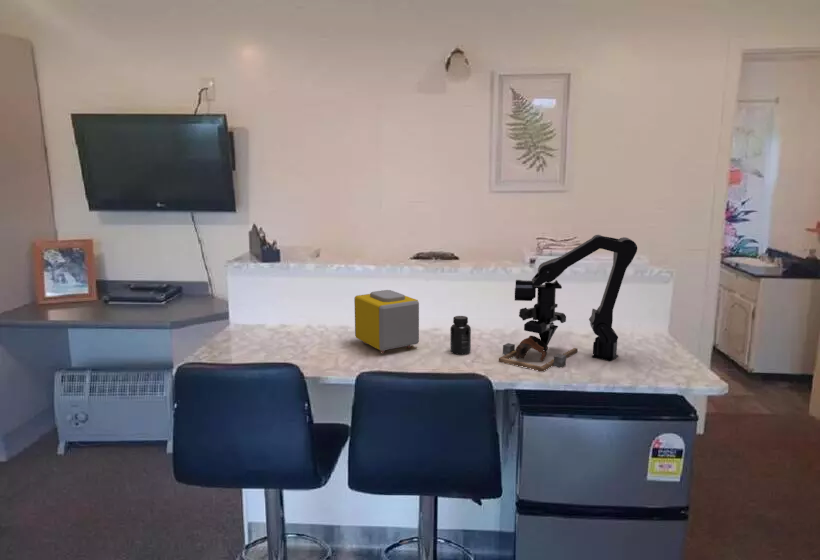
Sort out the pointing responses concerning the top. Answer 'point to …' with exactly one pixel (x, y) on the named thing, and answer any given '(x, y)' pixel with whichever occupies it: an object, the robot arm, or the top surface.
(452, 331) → the supplement bottle
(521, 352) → the brown broken pot
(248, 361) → the top surface
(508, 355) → the wooden u-shaped frame
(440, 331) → the top surface
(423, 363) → the top surface
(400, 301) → the alarm clock
